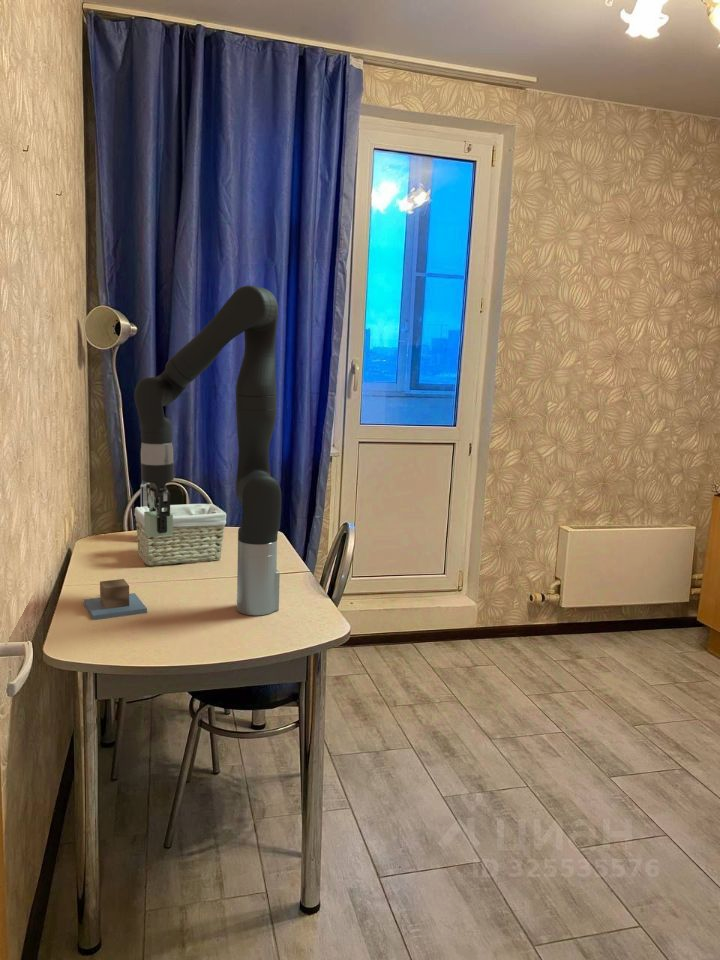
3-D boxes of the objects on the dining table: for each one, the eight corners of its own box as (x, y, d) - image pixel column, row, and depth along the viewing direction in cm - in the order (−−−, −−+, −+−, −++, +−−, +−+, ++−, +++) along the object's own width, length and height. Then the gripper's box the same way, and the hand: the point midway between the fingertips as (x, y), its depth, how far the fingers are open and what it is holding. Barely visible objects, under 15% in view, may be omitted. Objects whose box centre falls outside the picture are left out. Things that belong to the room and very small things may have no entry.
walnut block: (124, 598, 178) (123, 578, 177) (129, 605, 173) (129, 585, 172) (100, 601, 175) (99, 581, 174) (105, 609, 170) (104, 588, 170)
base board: (134, 596, 182) (134, 593, 182) (147, 612, 172) (147, 608, 172) (83, 603, 177) (83, 599, 176) (93, 619, 166) (93, 615, 166)
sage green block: (167, 529, 184) (166, 510, 183) (173, 534, 179) (172, 514, 178) (144, 531, 181) (144, 511, 180) (150, 537, 176) (149, 516, 175)
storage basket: (212, 547, 230) (212, 501, 228) (227, 561, 216) (228, 512, 214) (133, 554, 219) (132, 506, 217) (144, 569, 205) (144, 517, 203)
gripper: (181, 464, 172) (182, 535, 175) (165, 456, 185) (166, 522, 188) (148, 466, 169) (150, 538, 172) (134, 457, 181) (136, 524, 184)
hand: (158, 529), depth 180 cm, fingers closed on sage green block, 5 cm apart
